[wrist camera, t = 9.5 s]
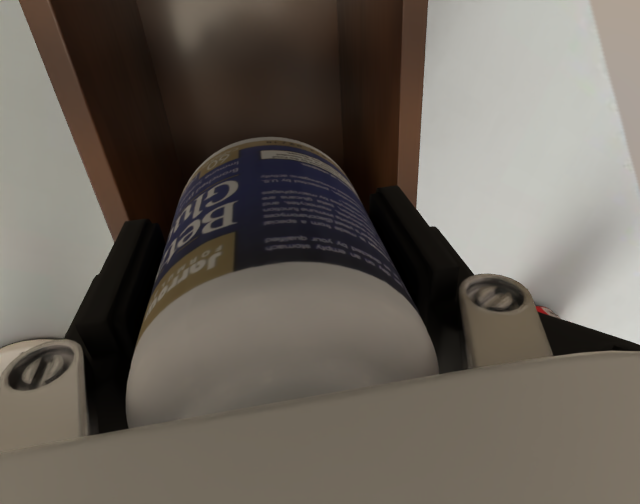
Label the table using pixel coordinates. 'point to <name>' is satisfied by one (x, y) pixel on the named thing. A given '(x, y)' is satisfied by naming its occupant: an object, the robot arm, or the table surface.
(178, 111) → the chest
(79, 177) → the table surface
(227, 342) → the pill bottle
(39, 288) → the table surface
